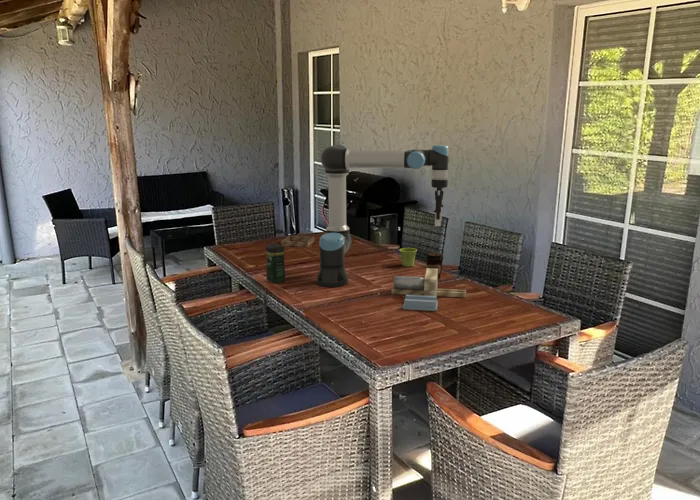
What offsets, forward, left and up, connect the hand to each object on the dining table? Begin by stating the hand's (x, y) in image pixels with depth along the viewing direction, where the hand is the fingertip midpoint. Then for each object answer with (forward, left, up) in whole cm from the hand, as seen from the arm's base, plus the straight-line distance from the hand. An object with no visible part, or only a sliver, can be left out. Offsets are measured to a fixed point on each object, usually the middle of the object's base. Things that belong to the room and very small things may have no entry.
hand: (438, 223), depth 267 cm
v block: (-5, -40, -28) cm, 49 cm away
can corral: (-89, +67, -28) cm, 115 cm away
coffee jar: (-77, -14, -28) cm, 83 cm away
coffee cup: (-1, 0, -28) cm, 28 cm away
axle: (-9, -23, -23) cm, 34 cm away
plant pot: (-16, +25, -28) cm, 41 cm away
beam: (-2, -23, -28) cm, 36 cm away
